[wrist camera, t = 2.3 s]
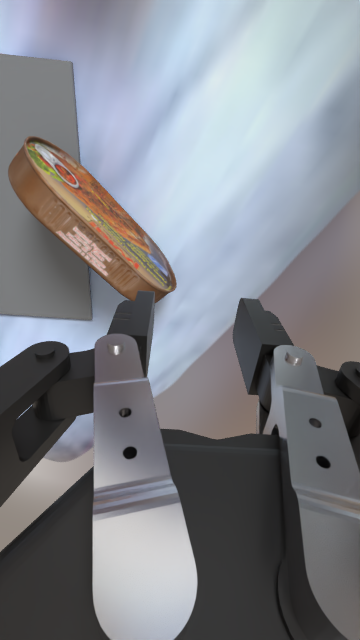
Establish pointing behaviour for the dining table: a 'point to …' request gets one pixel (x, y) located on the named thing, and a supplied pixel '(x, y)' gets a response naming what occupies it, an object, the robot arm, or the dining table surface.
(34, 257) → the mat
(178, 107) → the dining table surface
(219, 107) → the dining table surface
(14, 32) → the dining table surface
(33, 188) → the tin
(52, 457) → the dining table surface
